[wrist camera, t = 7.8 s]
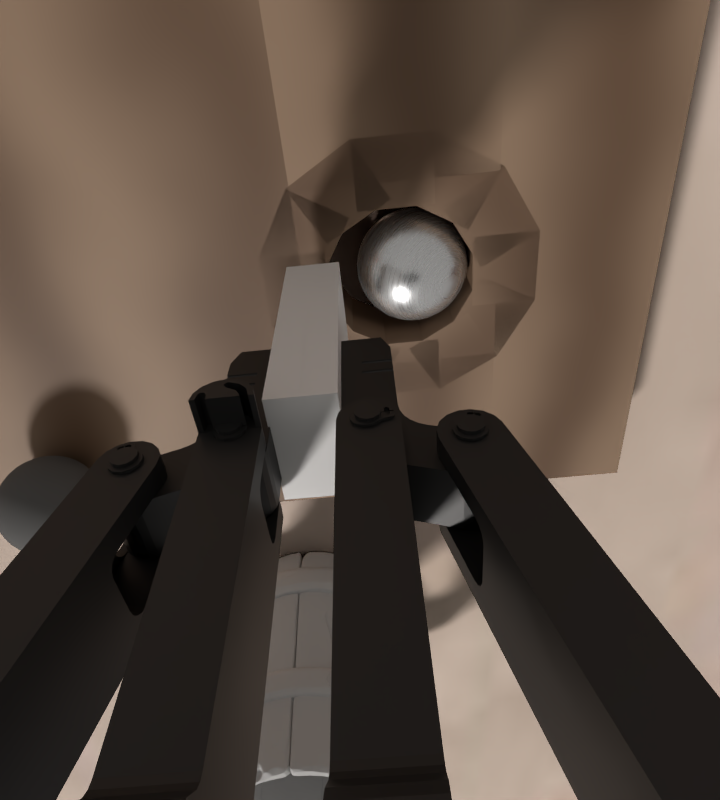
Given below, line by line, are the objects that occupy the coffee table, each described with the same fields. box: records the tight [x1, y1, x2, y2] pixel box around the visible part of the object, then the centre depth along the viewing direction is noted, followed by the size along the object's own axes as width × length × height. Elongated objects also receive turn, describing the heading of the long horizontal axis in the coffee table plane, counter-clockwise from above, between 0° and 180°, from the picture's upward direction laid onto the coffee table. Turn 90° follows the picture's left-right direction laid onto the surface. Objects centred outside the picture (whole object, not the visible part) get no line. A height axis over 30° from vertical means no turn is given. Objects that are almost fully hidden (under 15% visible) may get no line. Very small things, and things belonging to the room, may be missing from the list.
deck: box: [0, 0, 711, 502], centre depth 20 cm, size 30×18×2 cm, turn 95°
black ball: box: [0, 456, 89, 550], centre depth 22 cm, size 4×4×4 cm
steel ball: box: [357, 208, 467, 320], centre depth 20 cm, size 4×4×4 cm
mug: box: [254, 552, 334, 800], centre depth 28 cm, size 8×12×12 cm, turn 43°
